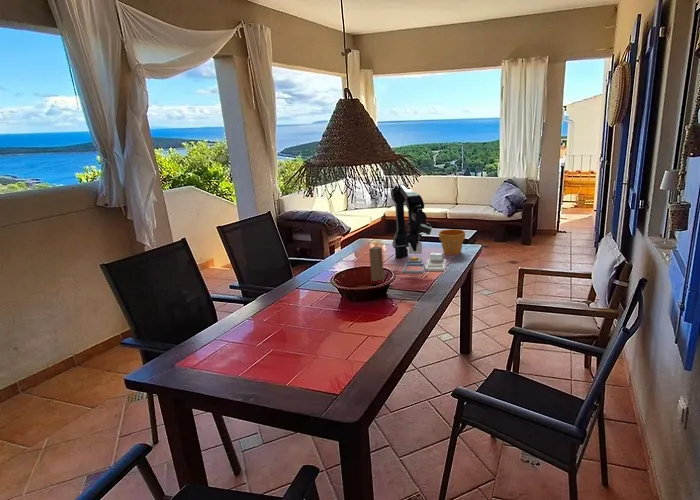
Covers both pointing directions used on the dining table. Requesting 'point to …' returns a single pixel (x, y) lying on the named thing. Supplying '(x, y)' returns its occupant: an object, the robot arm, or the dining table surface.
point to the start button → (414, 258)
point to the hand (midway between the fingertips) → (415, 250)
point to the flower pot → (452, 241)
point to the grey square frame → (414, 261)
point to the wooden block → (376, 264)
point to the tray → (414, 271)
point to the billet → (418, 249)
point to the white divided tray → (435, 265)
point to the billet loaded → (436, 257)
